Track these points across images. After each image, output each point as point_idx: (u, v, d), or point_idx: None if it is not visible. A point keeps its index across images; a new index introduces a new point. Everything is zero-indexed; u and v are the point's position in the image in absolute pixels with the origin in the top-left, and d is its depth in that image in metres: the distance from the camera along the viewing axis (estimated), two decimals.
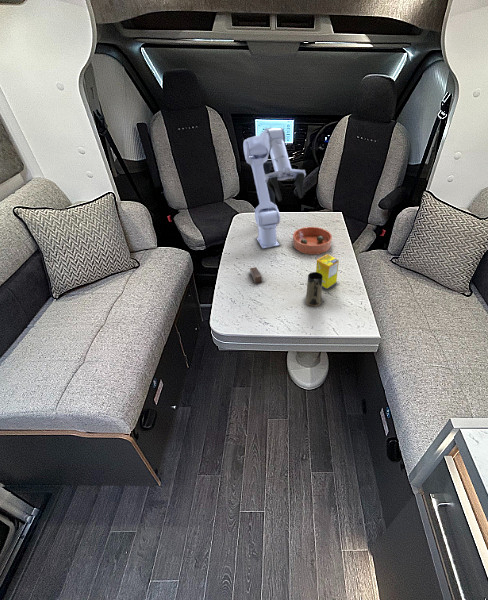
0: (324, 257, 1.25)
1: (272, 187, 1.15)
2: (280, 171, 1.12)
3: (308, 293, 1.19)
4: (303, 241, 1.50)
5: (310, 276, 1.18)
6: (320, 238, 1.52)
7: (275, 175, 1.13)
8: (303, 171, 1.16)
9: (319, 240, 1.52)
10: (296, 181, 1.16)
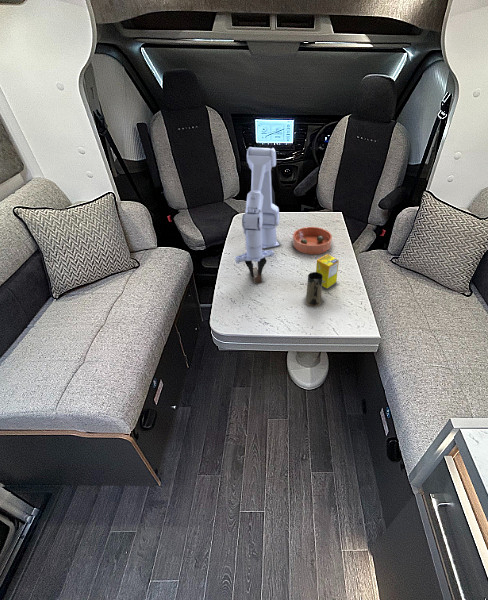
0: (324, 257, 1.25)
1: None
2: (251, 259, 1.25)
3: (308, 293, 1.19)
4: (303, 241, 1.50)
5: (310, 276, 1.18)
6: (320, 238, 1.52)
7: None
8: (272, 254, 1.28)
9: (319, 240, 1.52)
10: (258, 260, 1.30)
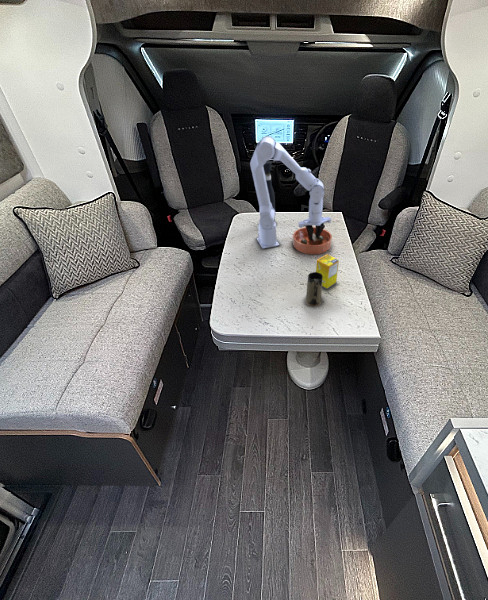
0: (324, 257, 1.25)
1: (307, 228, 1.49)
2: (312, 224, 1.44)
3: (308, 293, 1.19)
4: (303, 241, 1.50)
5: (310, 276, 1.18)
6: (320, 238, 1.52)
7: None
8: (329, 220, 1.48)
9: None
10: (317, 226, 1.49)
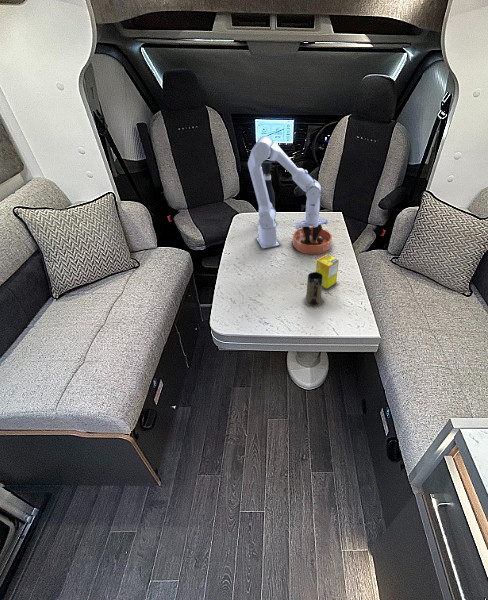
0: (324, 257, 1.25)
1: (304, 229, 1.48)
2: (309, 225, 1.44)
3: (308, 293, 1.19)
4: (303, 241, 1.50)
5: (310, 276, 1.18)
6: (320, 239, 1.52)
7: None
8: (326, 221, 1.47)
9: (319, 241, 1.52)
10: (314, 227, 1.48)
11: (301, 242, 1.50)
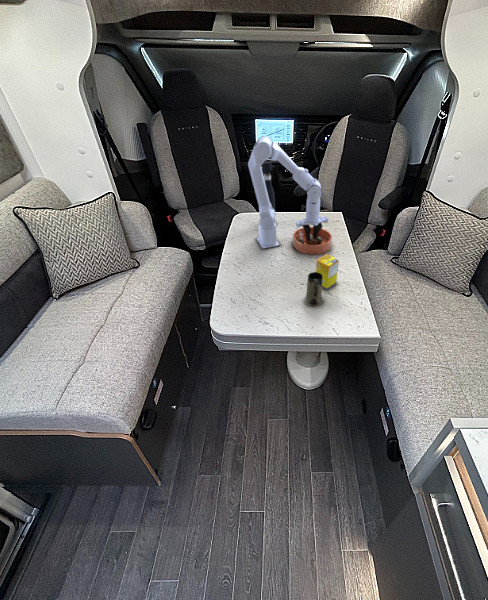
0: (324, 257, 1.25)
1: (305, 227, 1.49)
2: (310, 224, 1.45)
3: (308, 293, 1.19)
4: (300, 239, 1.50)
5: (310, 276, 1.18)
6: (319, 241, 1.52)
7: None
8: (327, 219, 1.48)
9: (318, 243, 1.52)
10: (314, 225, 1.49)
11: (299, 241, 1.51)
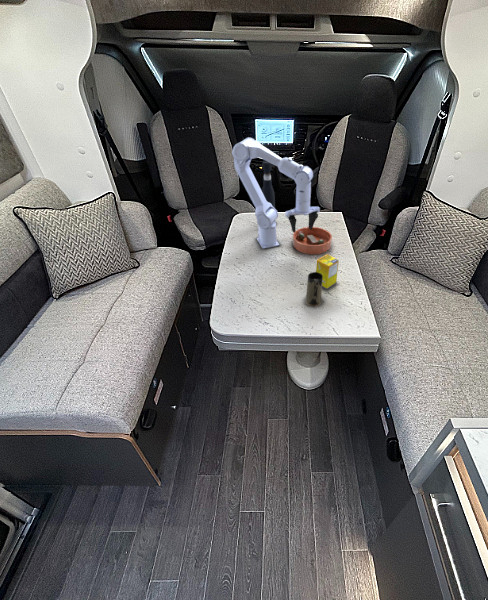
0: (324, 257, 1.25)
1: (290, 219, 1.41)
2: (300, 213, 1.37)
3: (308, 293, 1.19)
4: None
5: (310, 276, 1.18)
6: None
7: None
8: (318, 209, 1.40)
9: None
10: (310, 215, 1.42)
11: None
